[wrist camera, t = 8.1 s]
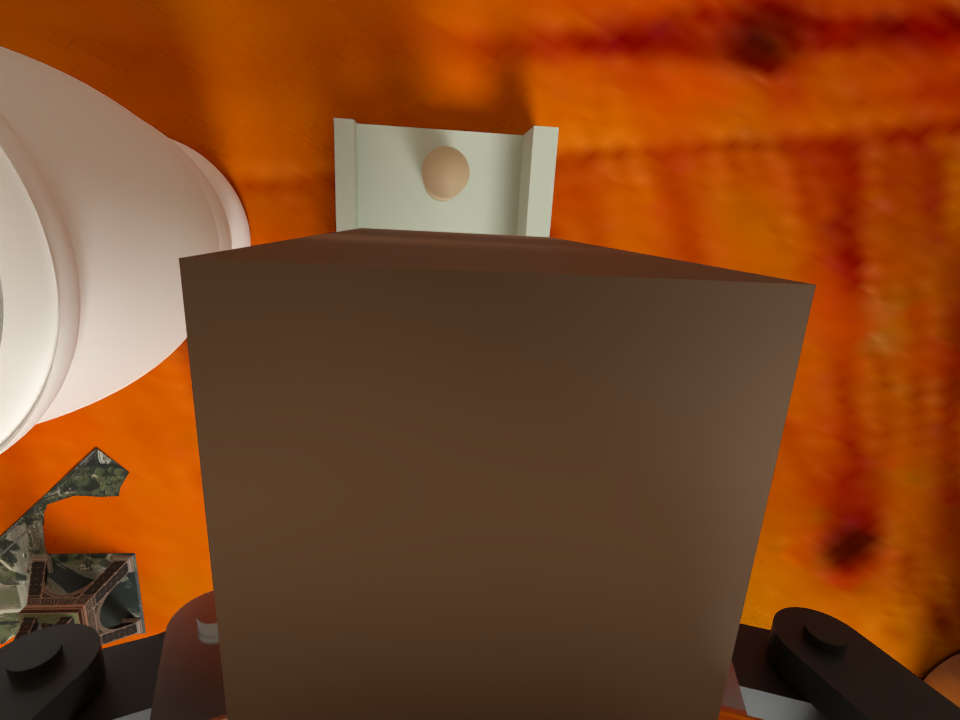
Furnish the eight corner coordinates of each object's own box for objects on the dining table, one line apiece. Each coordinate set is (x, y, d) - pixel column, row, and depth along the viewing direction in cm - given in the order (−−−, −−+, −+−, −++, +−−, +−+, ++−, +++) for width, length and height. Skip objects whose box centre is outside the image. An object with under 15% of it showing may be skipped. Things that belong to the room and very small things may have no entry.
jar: (322, 236, 24) (166, 267, 10) (182, 383, 26) (-133, 595, 11) (130, 51, 22) (-460, -270, 7) (-15, 226, 23) (-759, 243, 9)
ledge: (509, 514, 29) (535, 611, 22) (350, 515, 29) (323, 616, 21) (538, 141, 24) (584, 110, 17) (344, 127, 23) (304, 88, 16)
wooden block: (515, 639, 16) (618, 1162, 7) (358, 644, 15) (261, 1210, 7) (549, 237, 12) (816, 284, 4) (351, 227, 12) (144, 255, 3)
